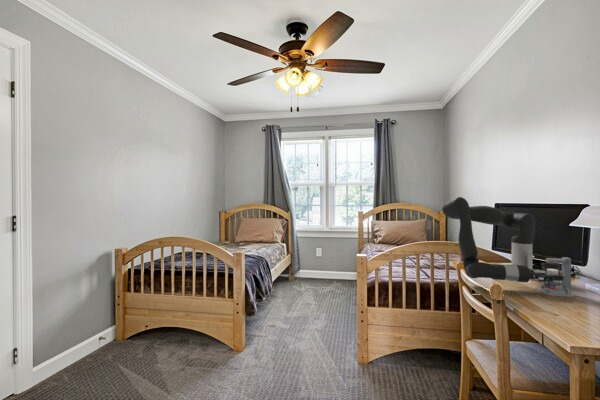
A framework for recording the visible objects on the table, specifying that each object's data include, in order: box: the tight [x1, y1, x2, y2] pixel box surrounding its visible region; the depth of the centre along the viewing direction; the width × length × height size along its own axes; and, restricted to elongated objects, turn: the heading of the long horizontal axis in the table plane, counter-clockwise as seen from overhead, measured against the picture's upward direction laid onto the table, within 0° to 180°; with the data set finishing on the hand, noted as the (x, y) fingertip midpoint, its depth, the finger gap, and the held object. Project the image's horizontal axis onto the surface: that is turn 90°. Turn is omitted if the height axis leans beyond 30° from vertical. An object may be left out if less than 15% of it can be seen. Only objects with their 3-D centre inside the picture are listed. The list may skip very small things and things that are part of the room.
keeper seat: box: [536, 256, 576, 298], centre depth 135 cm, size 10×10×16 cm
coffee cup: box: [540, 261, 562, 284], centre depth 149 cm, size 8×8×10 cm
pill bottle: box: [544, 269, 561, 291], centre depth 135 cm, size 5×5×9 cm
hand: (559, 276), depth 134 cm, fingers closed on pill bottle, 5 cm apart
